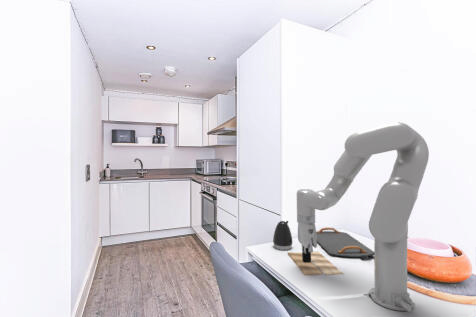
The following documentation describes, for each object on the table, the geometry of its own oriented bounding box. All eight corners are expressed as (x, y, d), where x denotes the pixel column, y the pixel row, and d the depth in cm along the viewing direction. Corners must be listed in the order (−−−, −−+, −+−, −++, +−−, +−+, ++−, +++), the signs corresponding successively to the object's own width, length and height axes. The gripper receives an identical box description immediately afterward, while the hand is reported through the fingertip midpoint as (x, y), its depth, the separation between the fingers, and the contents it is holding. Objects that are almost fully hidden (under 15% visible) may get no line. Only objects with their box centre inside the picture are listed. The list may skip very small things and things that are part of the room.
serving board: (380, 261, 114) (380, 248, 114) (331, 262, 113) (331, 249, 113) (343, 235, 152) (343, 225, 152) (307, 235, 152) (307, 226, 152)
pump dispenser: (296, 249, 129) (296, 220, 129) (285, 254, 122) (285, 224, 121) (280, 244, 136) (279, 217, 136) (269, 249, 129) (269, 221, 128)
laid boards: (344, 276, 99) (344, 273, 99) (325, 278, 98) (325, 275, 98) (318, 253, 123) (318, 251, 123) (302, 254, 122) (302, 252, 122)
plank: (323, 276, 99) (323, 274, 99) (304, 276, 98) (304, 273, 98) (302, 255, 121) (303, 252, 121) (287, 254, 120) (287, 252, 120)
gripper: (322, 222, 95) (323, 269, 95) (307, 214, 110) (308, 254, 110) (304, 223, 95) (304, 270, 95) (291, 214, 109) (292, 255, 109)
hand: (306, 261), depth 102 cm, fingers closed
